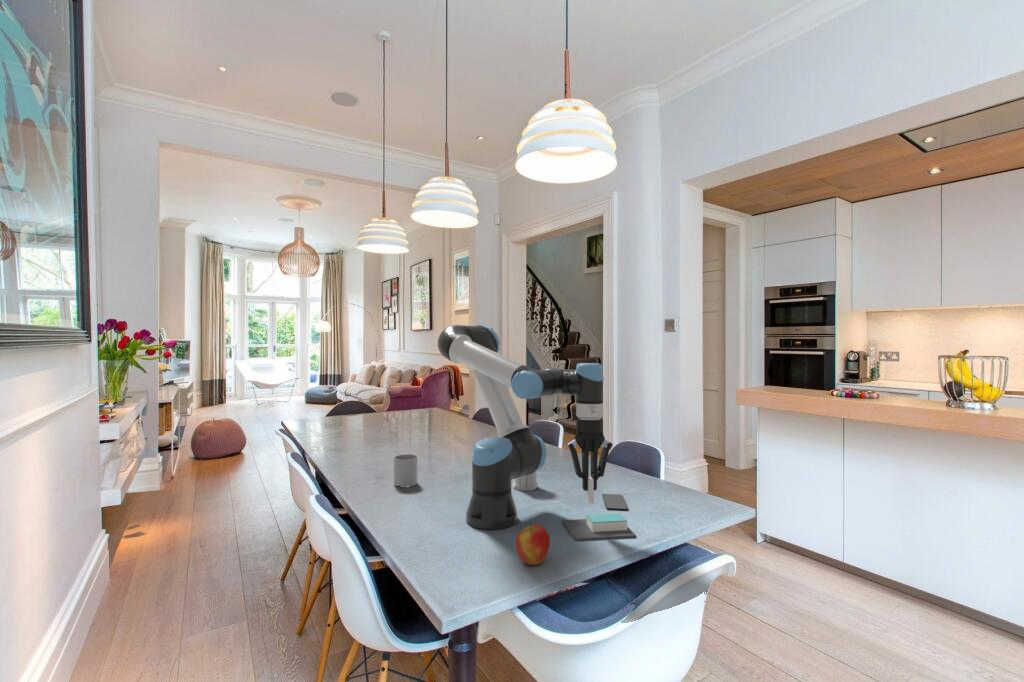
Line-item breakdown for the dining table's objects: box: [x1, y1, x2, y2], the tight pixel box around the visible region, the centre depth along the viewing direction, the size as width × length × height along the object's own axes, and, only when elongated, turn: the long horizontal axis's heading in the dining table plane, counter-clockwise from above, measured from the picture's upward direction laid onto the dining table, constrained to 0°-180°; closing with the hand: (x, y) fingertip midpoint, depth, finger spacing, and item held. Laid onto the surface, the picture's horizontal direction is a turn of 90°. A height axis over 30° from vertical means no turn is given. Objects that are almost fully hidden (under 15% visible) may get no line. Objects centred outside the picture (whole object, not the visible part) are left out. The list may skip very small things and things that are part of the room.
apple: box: [515, 519, 551, 566], centre depth 113 cm, size 8×8×10 cm
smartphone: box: [601, 493, 630, 512], centre depth 155 cm, size 7×1×15 cm
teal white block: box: [586, 512, 628, 532], centre depth 133 cm, size 3×6×10 cm
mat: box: [562, 518, 637, 542], centre depth 133 cm, size 17×13×1 cm
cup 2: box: [513, 471, 538, 492], centre depth 171 cm, size 10×9×12 cm
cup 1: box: [393, 453, 418, 488], centre depth 174 cm, size 8×8×10 cm
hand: (589, 501), depth 132 cm, fingers closed
